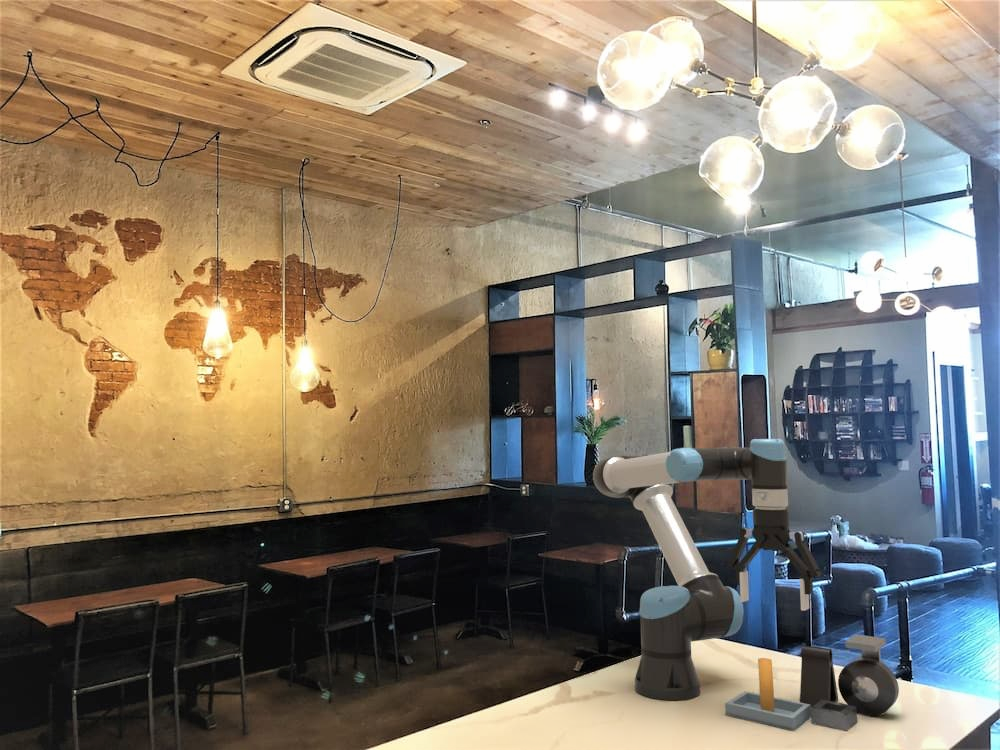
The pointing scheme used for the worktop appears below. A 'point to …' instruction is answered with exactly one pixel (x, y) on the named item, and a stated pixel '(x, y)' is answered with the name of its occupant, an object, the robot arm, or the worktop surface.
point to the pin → (766, 684)
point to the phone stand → (817, 676)
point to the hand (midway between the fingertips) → (774, 605)
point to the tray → (783, 717)
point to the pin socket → (834, 715)
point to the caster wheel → (868, 678)
